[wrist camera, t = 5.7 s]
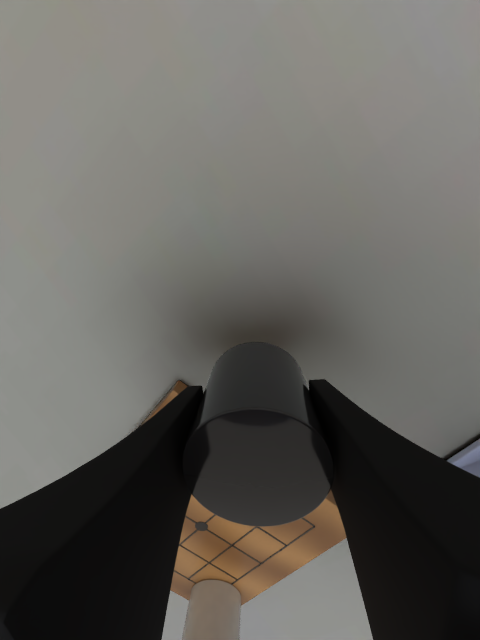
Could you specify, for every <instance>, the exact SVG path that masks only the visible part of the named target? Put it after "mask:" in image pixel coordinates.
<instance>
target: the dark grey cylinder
mask: <svg viewBox="0 0 480 640" xmlns="http://www.w3.org/2000/svg"><path fill="white" fill-rule="evenodd" d="M181 467H182V474H183V478H184V481H185V483H186V485H187V487H188V489H189V491H190V492H191V494H192V495H193V496H194V498H195V499H196V500H197V501H198V502H199V503H200V504H201V505H202V506H203V507H205V508H206V509H207V510H209V511H210V512H212V513H213V514H215V515H217V516H219V517H221V518H223V519H225V520H228V521H231V522H234V523H238V524H242V525H248V526H258V527H267V526H277V525H282V524H287V523H290V522H293V521H296V520H298V519H300V518H302V517H304V516H306V515H308V514H309V513H311V512H312V511H314V510H315V509H316V508H317V507H318V506H319V505H320V504H321V503H322V502H323V501H324V500H325V498H326V497H327V495H328V494H329V492H330V489H331V487H332V484H333V480H334V473H335V466H334V459H333V455H332V452H331V449H330V447H329V444H328V441H327V439H326V436H325V433H324V430H323V428H322V425H321V422H320V420H319V417H318V414H317V411H316V409H315V406H314V403H313V400H312V398H311V395H310V392H309V390H308V387H307V384H306V381H305V379H304V376H303V373H302V371H301V368H300V366H299V365H298V363H297V362H296V360H295V359H294V358H293V357H292V356H291V355H290V354H289V353H288V352H286V351H285V350H283V349H281V348H280V347H278V346H275V345H272V344H268V343H263V342H249V343H244V344H240V345H237V346H235V347H233V348H231V349H229V350H228V351H226V352H225V353H224V354H223V355H222V356H221V357H220V358H219V359H218V360H217V362H216V363H215V365H214V367H213V369H212V372H211V375H210V377H209V380H208V383H207V386H206V388H205V391H204V394H203V397H202V399H201V402H200V405H199V407H198V410H197V413H196V416H195V418H194V421H193V424H192V427H191V429H190V432H189V435H188V438H187V440H186V443H185V446H184V449H183V452H182V457H181Z"/></svg>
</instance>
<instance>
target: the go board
mask: <svg viewBox="0 0 480 640" xmlns="http://www.w3.org/2000/svg"><path fill="white" fill-rule="evenodd" d="M186 387H188V386H186V385H185V384H184V383H182V382H181V381H180V380H178V382H177V383H176V384H175V385H174V386H173V387H172V389H171V390H170V391H169V392H168V393H167V394H166V396H165V397H164V398H163V399H162V400H161V402H160V403H159V404H158V405H157V406H156V407H155V409H154V410H153V411H152V412H151V413H150V415H149V416H148V417H147V418H146V419H145V420H144V422H143V423H142V424H144V423H145V422H146V421H148V420H149V419H150V418H151V417H153V416H154V415H155V414H156V413H157V412H158V411H160V410H161V409H162V408H163V407H164V406H165V405H167V404H168V403H169V402H170V401H171V400H172V399H173V398H175V397H176V396H177V395H178V394H179V393H180V392H182V391H183V390H184V389H185V388H186ZM142 424H141V425H142ZM141 425H140V426H141ZM140 426H139V427H140ZM139 427H138V428H139ZM345 538H347V537H346V533H345V530H344V526H343V523H342V520H341V517H340V514H339V511H338V508H337V505H336V502H335V499H334V497H333V494H332V491H331V489H330V492H329V494H328V495H327V497H326V498H325V500H324V501H323V502H322V503H321V504H320V505H319V506H318V507H317V508H316V509H315V510H314V511H312V512H311V513H309V514H308V515H306V516H304V517H302V518H300V519H298V520H296V521H293V522H290V523H287V524H282V525H277V526H267V527H258V526H248V525H242V524H238V523H234V522H231V521H228V520H225V519H223V518H221V517H219V516H217V515H215V514H213V513H212V512H210V511H209V510H207V509H206V508H205V507H203V506H202V505H201V504H200V503H199V502H198V501H197V500H196V499H195V498H194V496H193V495H191V498H190V502H189V505H188V508H187V512H186V516H185V520H184V524H183V528H182V533H181V538H180V543H179V548H178V552H177V557H176V562H175V568H174V573H173V578H172V583H171V589H170V590H171V591H173V592H175V593H177V594H178V595H180V596H182V597H184V598H185V599H187V600H189V599H190V593H191V589H192V587H193V586H194V585H195V584H196V583H198V582H200V581H204V580H220V581H224V582H227V583H229V584H231V585H233V586H234V587H235V588H236V589H237V590H238V591H239V592H240V595H241V605H243V604H244V603H246V602H248V601H249V600H251V599H252V598H254V597H255V596H257V595H258V594H260V593H261V592H263V591H265V590H266V589H268V588H269V587H271V586H272V585H274V584H275V583H277V582H279V581H280V580H282V579H283V578H285V577H286V576H288V575H289V574H291V573H292V572H294V571H296V570H297V569H299V568H300V567H302V566H303V565H305V564H306V563H308V562H310V561H311V560H313V559H314V558H316V557H317V556H319V555H320V554H322V553H323V552H325V551H327V550H328V549H330V548H331V547H333V546H334V545H336V544H337V543H339V542H341V541H342V540H344V539H345Z"/></svg>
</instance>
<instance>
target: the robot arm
mask: <svg viewBox="0 0 480 640" xmlns="http://www.w3.org/2000/svg"><path fill="white" fill-rule="evenodd" d="M309 392H310V395H311V398H312V400H313V403H314V406H315V409H316V411H317V414H318V417H319V420H320V422H321V425H322V428H323V430H324V433H325V436H326V439H327V441H328V444H329V447H330V449H331V452H332V455H333V459H334V466H335V473H334V480H333V484H332V487H331V491H332V494H333V497H334V499H335V502H336V505H337V508H338V511H339V514H340V517H341V520H342V523H343V526H344V530H345V533H346V537H347V541H348V544H349V548H350V552H351V555H352V559H353V563H354V567H355V570H356V574H357V578H358V582H359V586H360V589H361V593H362V597H363V601H364V605H365V609H366V612H367V616H368V620H369V624H370V628H371V632H372V636H373V640H480V439H478V440H477V441H475V442H474V443H472V444H471V445H469V446H468V447H466V448H465V449H463V450H462V451H460V452H459V453H457V454H456V455H454V456H453V457H451V458H450V459H448V460H447V461H446V460H444V459H442V458H440V457H438V456H436V455H434V454H432V453H430V452H429V451H427V450H425V449H423V448H421V447H420V446H418V445H416V444H414V443H413V442H411V441H409V440H408V439H406V438H404V437H403V436H401V435H399V434H398V433H396V432H395V431H393V430H391V429H390V428H388V427H387V426H385V425H384V424H382V423H381V422H379V421H378V420H377V419H375V418H374V417H372V416H371V415H369V414H368V413H367V412H365V411H364V410H362V409H361V408H360V407H358V406H357V405H356V404H355V403H353V402H352V401H351V400H349V399H348V398H347V397H346V396H344V395H343V394H342V393H341V392H340V391H338V390H337V389H336V388H335V387H333V386H332V385H331V384H330V383H329V382H327V381H326V380H325V379H320V380H309ZM202 397H203V390H202V386H188V387H186V388H185V389H184V390H183V391H182V392H180V393H179V394H178V395H177V396H176V397H175V398H173V399H172V400H171V401H170V402H169V403H168V404H167V405H165V406H164V407H163V408H162V409H161V410H160V411H158V412H157V413H156V414H155V415H154V416H153V417H151V418H150V419H149V420H148V421H146V422H145V423H144V424H142V425H141V426H140V427H139V428H137V429H136V430H135V431H134V432H132V433H131V434H130V435H128V436H127V437H126V438H124V439H123V440H121V441H120V442H119V443H117V444H116V445H114V446H113V447H111V448H110V449H108V450H107V451H105V452H104V453H102V454H101V455H99V456H97V457H96V458H94V459H92V460H91V461H89V462H87V463H86V464H84V465H82V466H81V467H79V468H77V469H76V470H74V471H72V472H71V473H69V474H67V475H66V476H64V477H62V478H60V479H58V480H56V481H55V482H53V483H51V484H49V485H47V486H45V487H43V488H42V489H40V490H38V491H36V492H34V493H32V494H30V495H28V496H26V497H24V498H22V499H20V500H18V501H16V502H14V503H12V504H10V505H8V506H6V507H3V508H1V509H0V640H161V639H162V633H163V627H164V622H165V616H166V610H167V604H168V599H169V594H170V589H171V583H172V578H173V573H174V568H175V562H176V557H177V552H178V548H179V543H180V538H181V533H182V528H183V524H184V520H185V516H186V512H187V508H188V505H189V502H190V498H191V495H192V494H191V492H190V491H189V489H188V487H187V485H186V483H185V481H184V478H183V474H182V467H181V457H182V452H183V449H184V446H185V443H186V440H187V438H188V435H189V432H190V429H191V427H192V424H193V421H194V418H195V416H196V413H197V410H198V407H199V405H200V402H201V399H202Z"/></svg>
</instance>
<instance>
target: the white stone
mask: <svg viewBox="0 0 480 640" xmlns="http://www.w3.org/2000/svg"><path fill="white" fill-rule="evenodd" d="M240 615H241V595H240V592H239V591H238V590H237V589H236V588H235V587H234V586H233V585H231V584H229V583H227V582H224V581H220V580H204V581H200V582H198V583H196V584H195V585H194V586H193V587H192V589H191V593H190V599H189V604H188V609H187V615H186V620H185V625H184V631H183V636H182V640H240Z"/></svg>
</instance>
